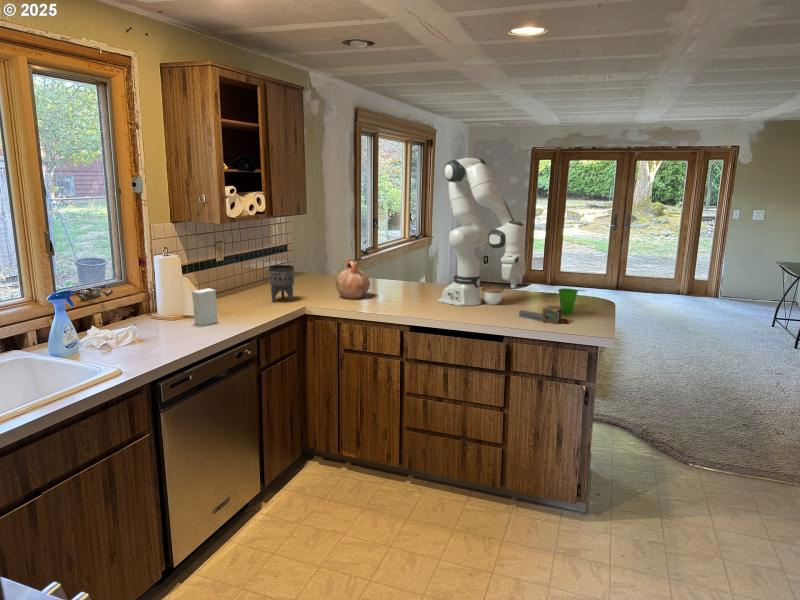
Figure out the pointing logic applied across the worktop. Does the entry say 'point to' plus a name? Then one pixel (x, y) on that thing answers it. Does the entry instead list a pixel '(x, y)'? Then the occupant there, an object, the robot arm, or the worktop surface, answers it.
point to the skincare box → (205, 306)
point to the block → (550, 315)
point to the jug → (352, 281)
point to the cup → (567, 300)
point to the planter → (281, 280)
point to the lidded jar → (492, 295)
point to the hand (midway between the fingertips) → (513, 287)
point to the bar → (531, 315)
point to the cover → (554, 309)
